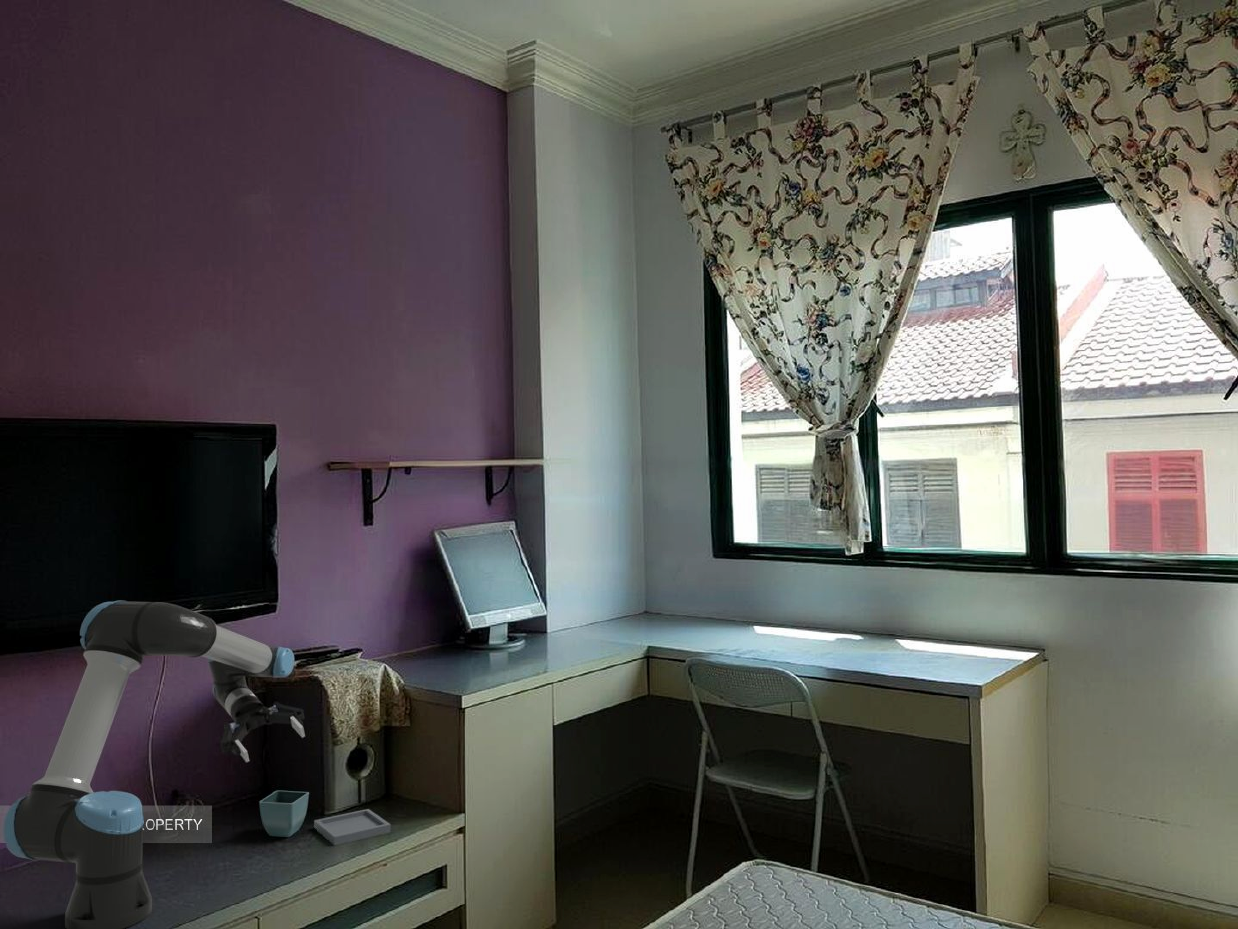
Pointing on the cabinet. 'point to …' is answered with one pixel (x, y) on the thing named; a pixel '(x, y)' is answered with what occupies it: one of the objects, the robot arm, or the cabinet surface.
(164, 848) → the cabinet surface
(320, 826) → the plant tray
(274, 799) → the flower pot
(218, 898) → the cabinet surface
